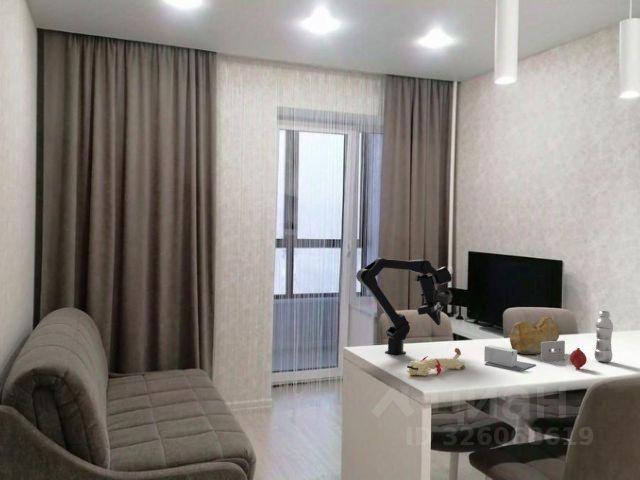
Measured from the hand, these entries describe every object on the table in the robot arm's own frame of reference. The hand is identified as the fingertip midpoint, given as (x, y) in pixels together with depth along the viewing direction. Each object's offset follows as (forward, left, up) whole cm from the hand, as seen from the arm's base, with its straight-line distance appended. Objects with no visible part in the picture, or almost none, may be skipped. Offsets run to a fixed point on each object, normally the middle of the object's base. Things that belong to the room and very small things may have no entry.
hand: (439, 324), depth 235 cm
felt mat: (+2, -31, -12) cm, 33 cm away
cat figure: (-30, -17, -12) cm, 36 cm away
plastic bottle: (+36, -54, -12) cm, 65 cm away
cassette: (+23, -39, -12) cm, 46 cm away
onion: (+16, -51, -12) cm, 54 cm away
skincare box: (0, -21, -8) cm, 23 cm away
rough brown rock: (+34, -25, -12) cm, 43 cm away
